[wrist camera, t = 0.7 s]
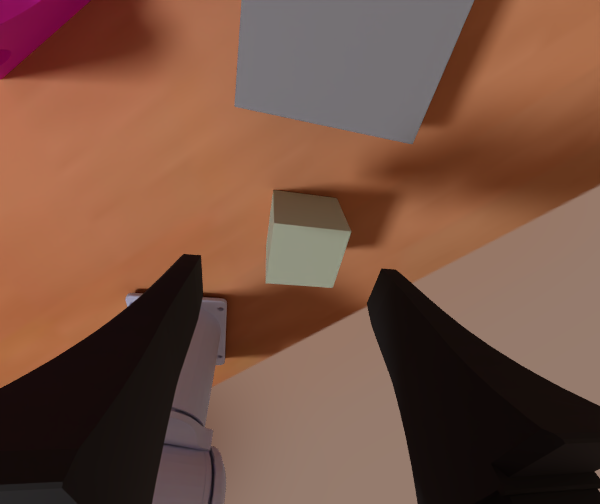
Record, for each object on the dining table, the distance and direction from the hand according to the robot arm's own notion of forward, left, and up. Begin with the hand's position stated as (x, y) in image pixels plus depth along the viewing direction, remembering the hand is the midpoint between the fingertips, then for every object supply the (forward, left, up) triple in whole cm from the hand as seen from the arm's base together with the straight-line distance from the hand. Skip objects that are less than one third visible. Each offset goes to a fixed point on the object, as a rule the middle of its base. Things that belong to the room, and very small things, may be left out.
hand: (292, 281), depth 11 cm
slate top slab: (+9, -2, -8) cm, 12 cm away
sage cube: (-3, -2, -10) cm, 10 cm away
